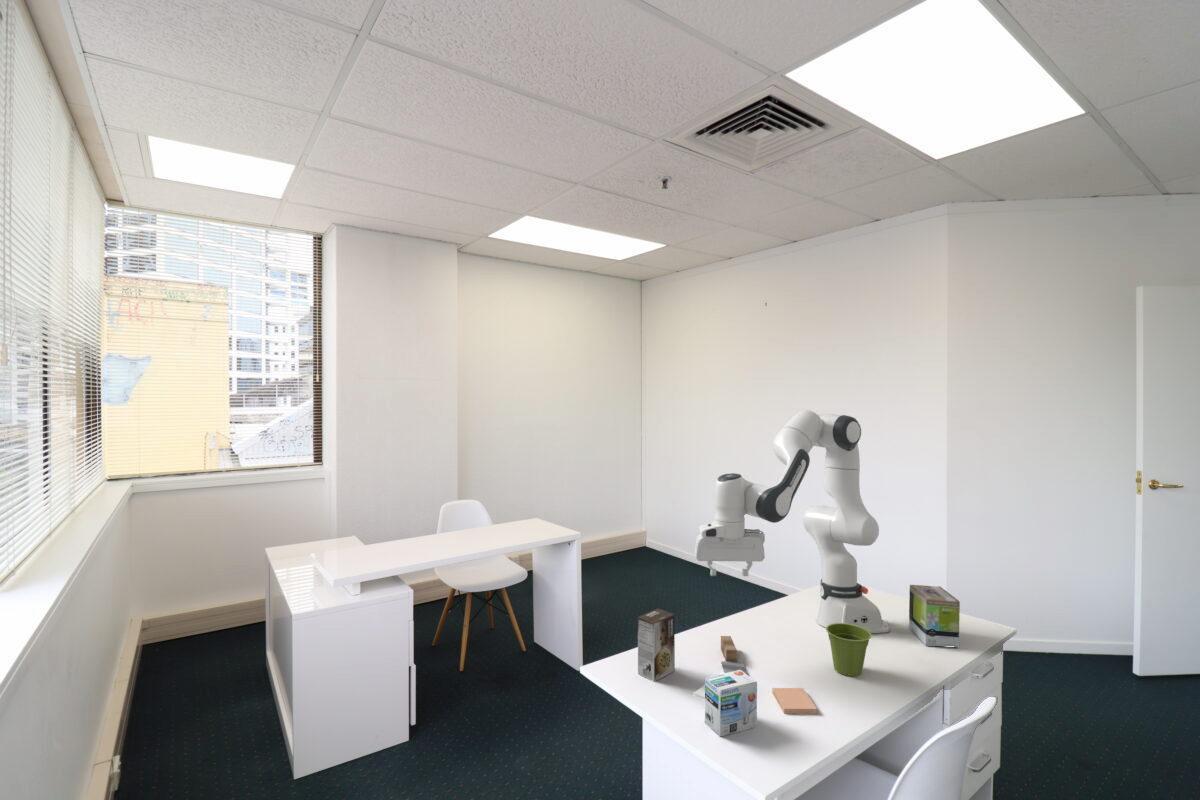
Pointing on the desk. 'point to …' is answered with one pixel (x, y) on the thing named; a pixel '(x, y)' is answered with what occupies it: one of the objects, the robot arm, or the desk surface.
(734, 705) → the light bulb box
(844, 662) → the plant pot
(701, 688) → the butcher knife
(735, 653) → the wooden handled scraper
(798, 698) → the tile
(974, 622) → the desk surface
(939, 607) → the tea box
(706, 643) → the desk surface
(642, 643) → the coffee box
